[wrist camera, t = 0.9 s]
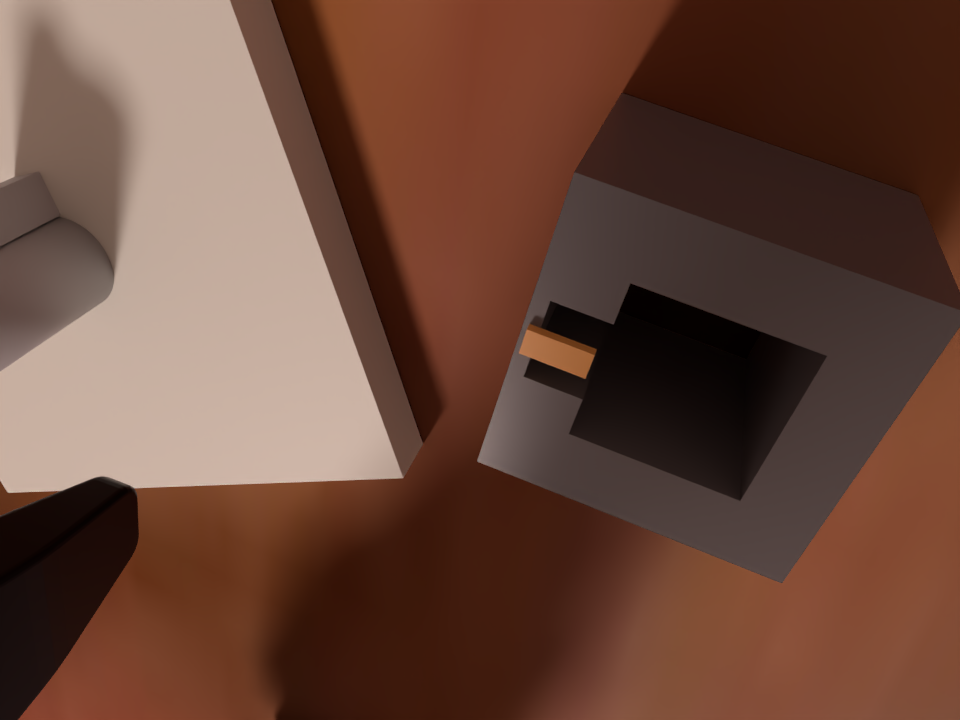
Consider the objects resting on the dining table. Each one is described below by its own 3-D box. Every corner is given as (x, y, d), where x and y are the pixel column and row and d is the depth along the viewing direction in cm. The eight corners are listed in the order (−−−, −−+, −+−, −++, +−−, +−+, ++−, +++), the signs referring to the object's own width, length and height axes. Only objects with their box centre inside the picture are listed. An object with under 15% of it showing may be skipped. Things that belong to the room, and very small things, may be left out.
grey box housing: (918, 195, 16) (971, 320, 12) (779, 428, 20) (782, 591, 15) (622, 92, 17) (571, 176, 13) (536, 336, 20) (474, 467, 16)
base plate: (422, 444, 23) (337, 591, 18) (41, 464, 28) (-99, 582, 24) (224, -137, 17) (22, -131, 12) (-218, 25, 22) (-474, 72, 17)
